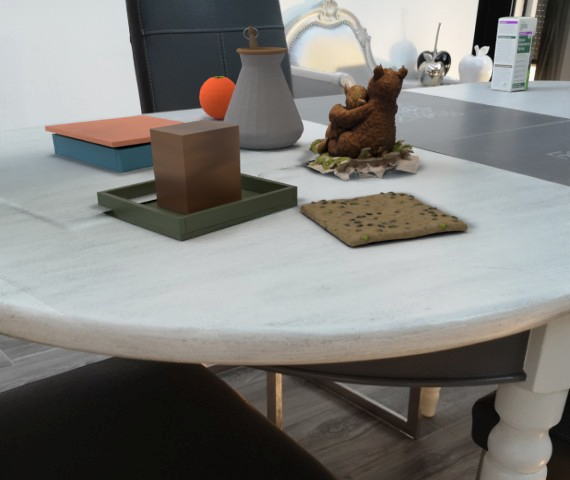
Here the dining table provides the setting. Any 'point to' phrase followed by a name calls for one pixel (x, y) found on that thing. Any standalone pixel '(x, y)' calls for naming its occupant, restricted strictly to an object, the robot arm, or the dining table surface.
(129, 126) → the lunchbox lid
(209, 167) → the block
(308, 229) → the dining table surface
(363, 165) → the bear figurine
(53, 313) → the dining table surface
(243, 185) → the tray
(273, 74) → the grey lidded jar
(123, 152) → the tray
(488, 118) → the dining table surface
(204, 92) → the clementine
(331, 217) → the cookie
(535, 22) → the syrup box
